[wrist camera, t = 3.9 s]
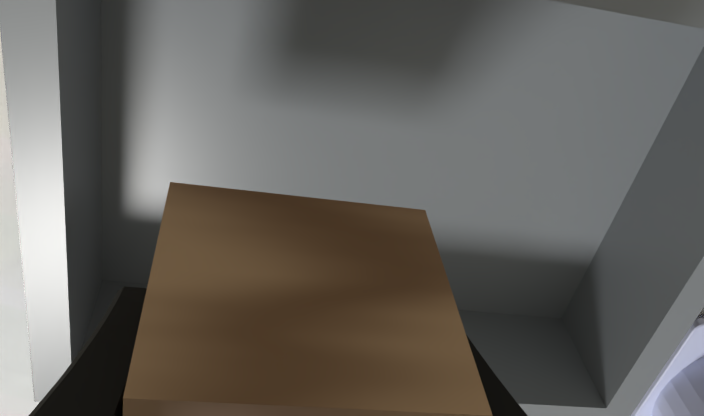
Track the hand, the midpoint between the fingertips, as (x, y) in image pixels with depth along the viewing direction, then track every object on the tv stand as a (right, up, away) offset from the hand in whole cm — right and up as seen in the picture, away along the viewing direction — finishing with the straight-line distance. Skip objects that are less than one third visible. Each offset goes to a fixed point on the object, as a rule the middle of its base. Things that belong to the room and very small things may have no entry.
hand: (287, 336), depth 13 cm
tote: (+2, +5, +7) cm, 9 cm away
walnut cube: (0, +1, +1) cm, 2 cm away
